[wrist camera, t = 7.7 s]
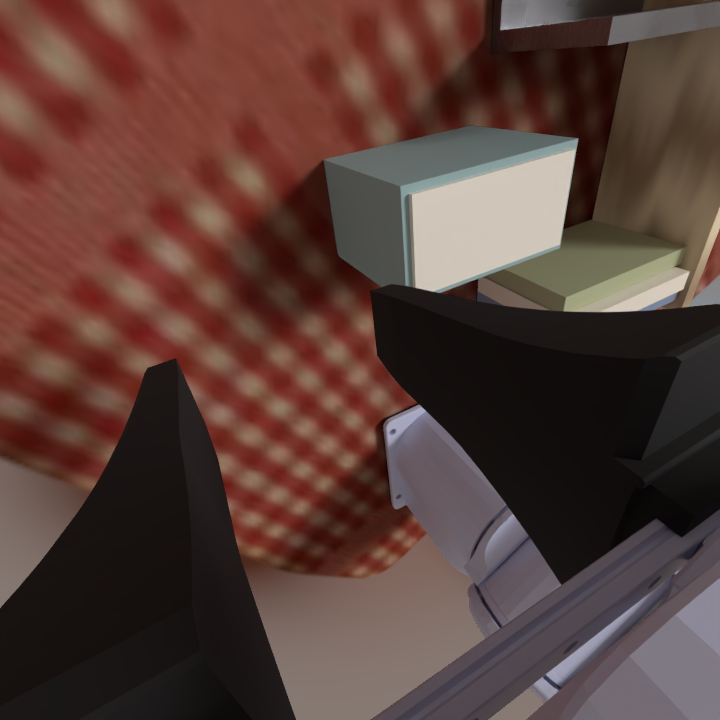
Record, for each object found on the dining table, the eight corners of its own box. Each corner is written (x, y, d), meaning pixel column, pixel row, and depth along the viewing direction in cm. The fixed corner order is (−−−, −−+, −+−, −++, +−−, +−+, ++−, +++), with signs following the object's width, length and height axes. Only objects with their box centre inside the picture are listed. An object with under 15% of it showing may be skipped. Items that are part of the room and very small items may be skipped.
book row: (581, 264, 30) (682, 302, 25) (476, 305, 27) (566, 358, 22) (590, 219, 29) (702, 250, 23) (479, 258, 26) (578, 304, 20)
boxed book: (467, 214, 24) (563, 249, 19) (337, 255, 21) (409, 307, 16) (470, 125, 21) (582, 138, 16) (322, 159, 19) (403, 187, 14)
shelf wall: (588, 271, 31) (688, 309, 26) (580, 274, 31) (679, 314, 26) (664, -77, 21) (857, -129, 15) (653, -76, 20) (846, -129, 15)
